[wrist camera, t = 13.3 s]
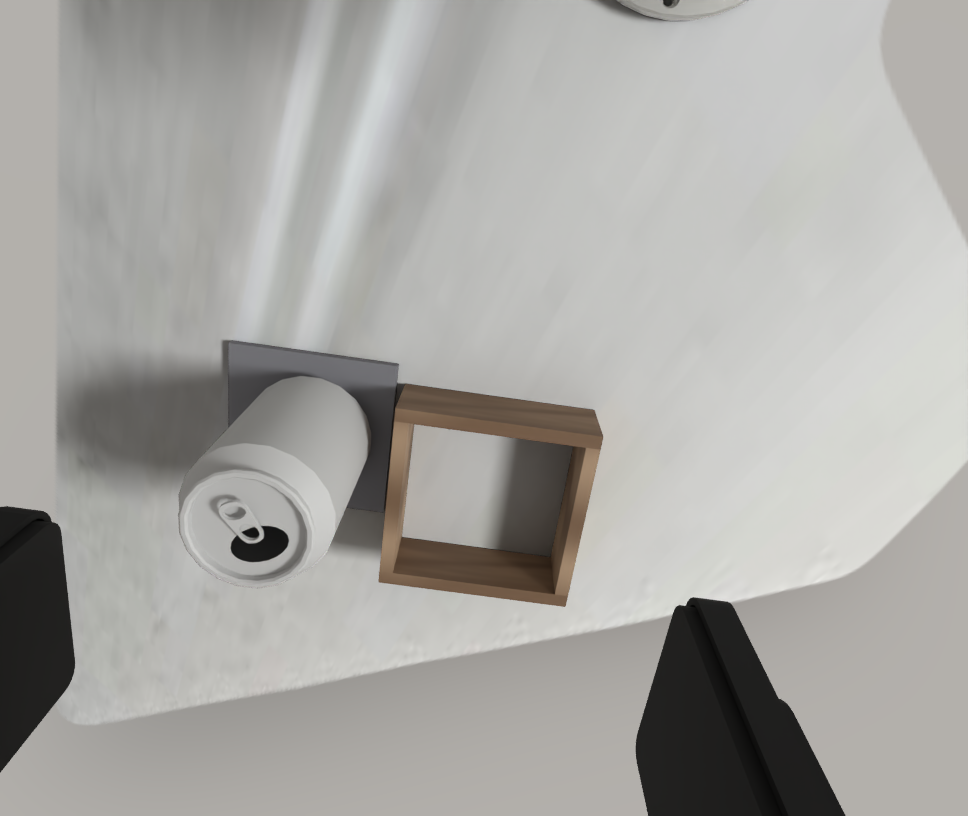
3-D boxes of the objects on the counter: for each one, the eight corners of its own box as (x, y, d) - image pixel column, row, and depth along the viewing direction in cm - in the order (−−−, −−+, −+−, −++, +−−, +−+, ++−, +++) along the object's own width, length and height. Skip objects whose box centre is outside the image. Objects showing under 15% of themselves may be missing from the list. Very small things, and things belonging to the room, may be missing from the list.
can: (285, 497, 44) (211, 620, 32) (231, 394, 41) (130, 489, 30) (393, 462, 43) (354, 577, 31) (343, 354, 40) (281, 437, 29)
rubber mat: (231, 340, 40) (228, 342, 40) (398, 363, 41) (397, 366, 40) (231, 487, 44) (228, 491, 44) (384, 508, 44) (383, 512, 44)
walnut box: (405, 383, 41) (395, 408, 37) (594, 410, 41) (603, 436, 38) (388, 545, 45) (378, 582, 42) (560, 568, 46) (565, 606, 42)
